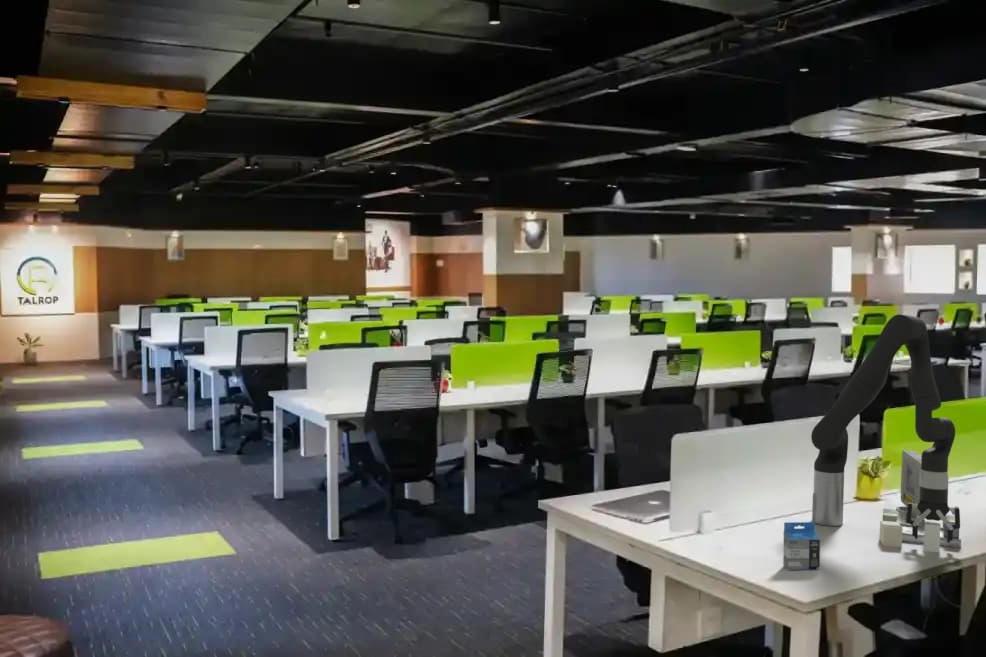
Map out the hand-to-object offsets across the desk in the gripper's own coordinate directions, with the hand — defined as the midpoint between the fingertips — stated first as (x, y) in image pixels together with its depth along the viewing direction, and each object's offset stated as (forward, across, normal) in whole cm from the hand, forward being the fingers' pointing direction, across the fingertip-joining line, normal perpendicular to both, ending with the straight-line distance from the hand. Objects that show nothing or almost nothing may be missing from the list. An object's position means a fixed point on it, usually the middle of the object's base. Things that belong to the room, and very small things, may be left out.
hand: (932, 540), depth 264 cm
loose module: (+3, 0, 0) cm, 3 cm away
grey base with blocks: (+3, -3, +12) cm, 13 cm away
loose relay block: (+3, -11, +1) cm, 11 cm away
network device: (+3, -4, +42) cm, 42 cm away
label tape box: (+3, -33, -36) cm, 49 cm away
